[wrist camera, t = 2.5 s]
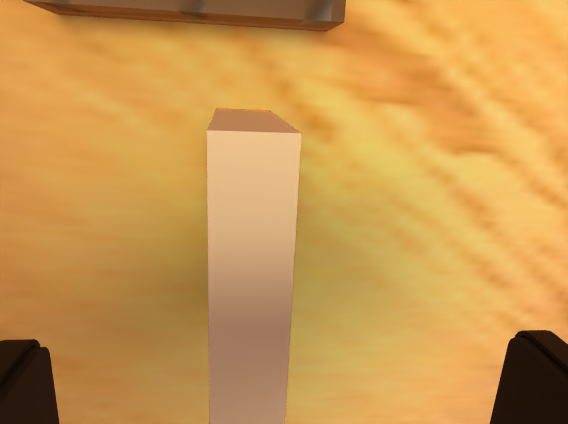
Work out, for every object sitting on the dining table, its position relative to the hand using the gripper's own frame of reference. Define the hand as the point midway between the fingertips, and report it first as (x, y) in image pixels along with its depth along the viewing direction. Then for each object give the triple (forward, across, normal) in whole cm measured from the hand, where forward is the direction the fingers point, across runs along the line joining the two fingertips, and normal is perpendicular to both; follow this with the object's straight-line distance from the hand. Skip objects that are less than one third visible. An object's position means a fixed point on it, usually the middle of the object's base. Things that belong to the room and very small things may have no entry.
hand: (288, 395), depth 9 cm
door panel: (+13, +1, 0) cm, 13 cm away
